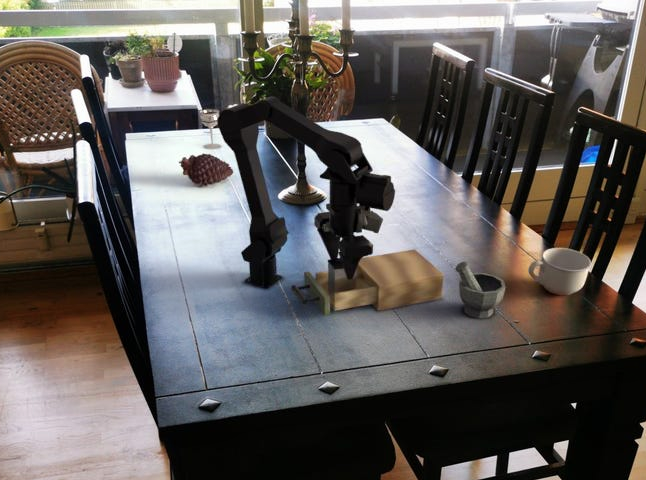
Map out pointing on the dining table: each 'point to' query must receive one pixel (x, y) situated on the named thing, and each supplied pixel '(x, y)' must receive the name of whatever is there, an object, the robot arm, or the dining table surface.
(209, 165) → the pine cone
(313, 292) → the drawer
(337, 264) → the metal box
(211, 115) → the wineglass
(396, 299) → the cabinet
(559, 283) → the teacup
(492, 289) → the mortar and pestle
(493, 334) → the dining table surface
